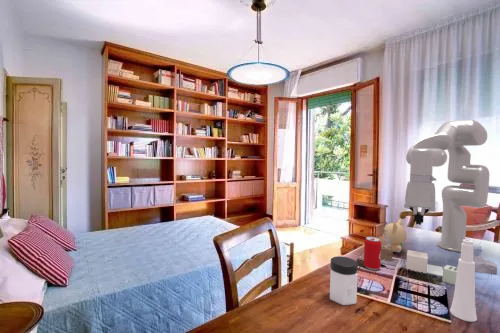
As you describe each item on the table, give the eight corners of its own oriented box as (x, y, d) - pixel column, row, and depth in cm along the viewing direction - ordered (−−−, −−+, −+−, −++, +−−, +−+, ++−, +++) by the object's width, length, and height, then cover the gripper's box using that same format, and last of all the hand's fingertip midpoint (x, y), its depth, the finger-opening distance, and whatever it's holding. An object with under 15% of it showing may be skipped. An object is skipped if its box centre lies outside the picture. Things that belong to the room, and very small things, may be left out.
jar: (336, 306, 79) (338, 267, 78) (323, 292, 87) (324, 257, 86) (363, 303, 81) (364, 265, 80) (347, 290, 89) (349, 255, 88)
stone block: (472, 277, 105) (501, 274, 103) (470, 265, 105) (498, 262, 103) (455, 266, 117) (480, 263, 115) (453, 255, 117) (478, 252, 115)
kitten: (387, 244, 136) (389, 215, 135) (409, 249, 129) (411, 219, 128) (377, 251, 126) (378, 220, 125) (400, 257, 119) (402, 225, 118)
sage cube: (445, 277, 100) (446, 264, 100) (462, 282, 96) (463, 268, 96) (442, 281, 97) (443, 267, 97) (459, 286, 93) (460, 272, 93)
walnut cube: (379, 255, 121) (379, 244, 121) (391, 257, 119) (391, 246, 119) (379, 259, 117) (380, 247, 116) (392, 261, 115) (392, 249, 114)
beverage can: (382, 267, 108) (383, 238, 107) (377, 272, 103) (378, 242, 102) (366, 263, 112) (367, 235, 111) (361, 267, 107) (362, 238, 107)
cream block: (406, 263, 113) (407, 249, 112) (426, 267, 109) (427, 253, 108) (406, 269, 107) (406, 254, 106) (426, 274, 103) (427, 259, 103)
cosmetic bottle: (445, 308, 79) (449, 236, 78) (465, 309, 79) (470, 237, 78) (460, 321, 73) (465, 243, 72) (482, 322, 73) (487, 244, 72)
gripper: (444, 179, 104) (441, 225, 106) (401, 177, 114) (399, 219, 115) (443, 181, 99) (440, 229, 100) (398, 178, 108) (396, 222, 109)
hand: (418, 223), depth 107 cm, fingers closed
